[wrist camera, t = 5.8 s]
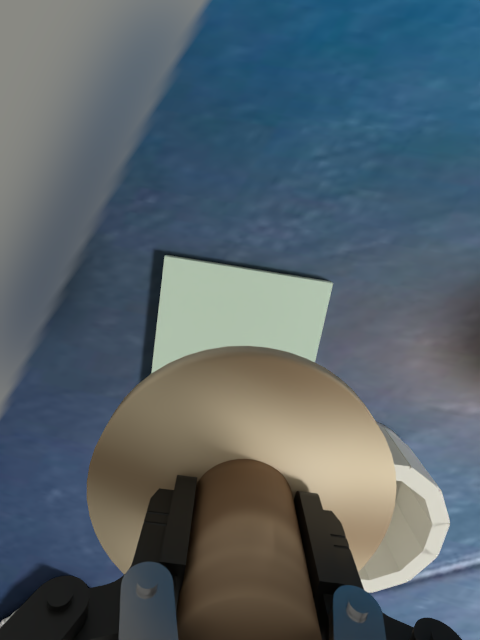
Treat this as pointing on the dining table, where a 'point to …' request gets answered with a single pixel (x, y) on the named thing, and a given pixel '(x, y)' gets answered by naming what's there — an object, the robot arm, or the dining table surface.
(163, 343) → the mat
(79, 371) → the dining table surface
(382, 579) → the bowl
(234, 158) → the dining table surface
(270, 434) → the lid
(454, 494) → the dining table surface
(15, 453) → the dining table surface
